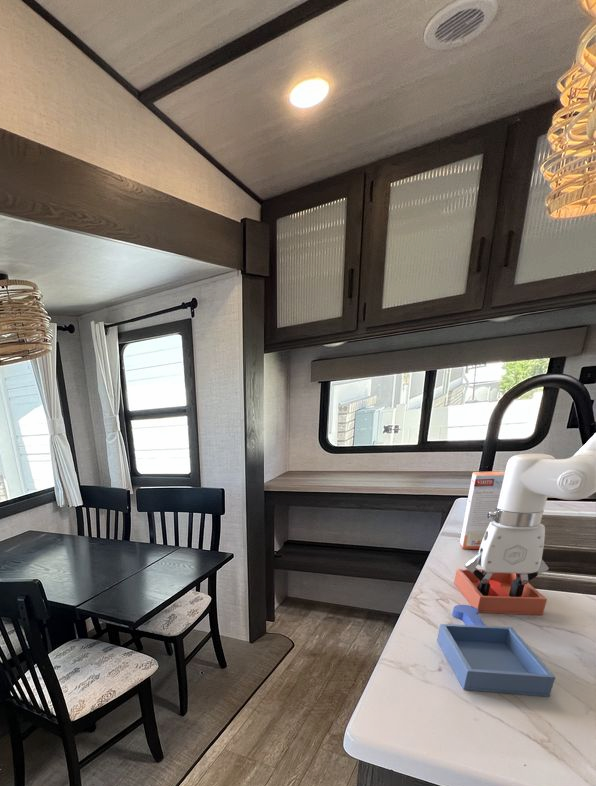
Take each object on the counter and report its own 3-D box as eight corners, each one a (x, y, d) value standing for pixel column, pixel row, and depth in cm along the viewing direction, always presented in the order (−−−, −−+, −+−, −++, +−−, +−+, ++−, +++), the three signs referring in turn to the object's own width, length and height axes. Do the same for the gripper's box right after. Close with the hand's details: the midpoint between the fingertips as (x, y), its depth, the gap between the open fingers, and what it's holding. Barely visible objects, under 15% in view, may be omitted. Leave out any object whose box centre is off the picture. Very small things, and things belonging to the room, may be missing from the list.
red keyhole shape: (515, 606, 99) (517, 597, 98) (491, 605, 100) (493, 596, 99) (495, 585, 108) (497, 577, 107) (474, 585, 110) (475, 577, 109)
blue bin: (507, 644, 87) (512, 627, 85) (549, 697, 72) (555, 677, 71) (436, 640, 90) (440, 623, 89) (463, 689, 76) (467, 671, 74)
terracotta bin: (510, 584, 110) (513, 569, 108) (542, 615, 95) (547, 599, 94) (453, 582, 113) (456, 568, 112) (476, 612, 99) (480, 597, 97)
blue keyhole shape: (492, 636, 90) (494, 627, 89) (465, 635, 91) (467, 626, 90) (473, 611, 99) (475, 602, 98) (449, 610, 100) (451, 602, 100)
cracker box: (517, 545, 132) (535, 469, 123) (522, 551, 127) (542, 473, 119) (458, 542, 138) (472, 470, 129) (461, 549, 133) (476, 474, 124)
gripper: (475, 522, 94) (458, 604, 101) (578, 522, 89) (552, 607, 96) (463, 513, 100) (448, 590, 108) (559, 512, 95) (536, 593, 103)
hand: (497, 597), depth 102 cm, fingers open, 5 cm apart
